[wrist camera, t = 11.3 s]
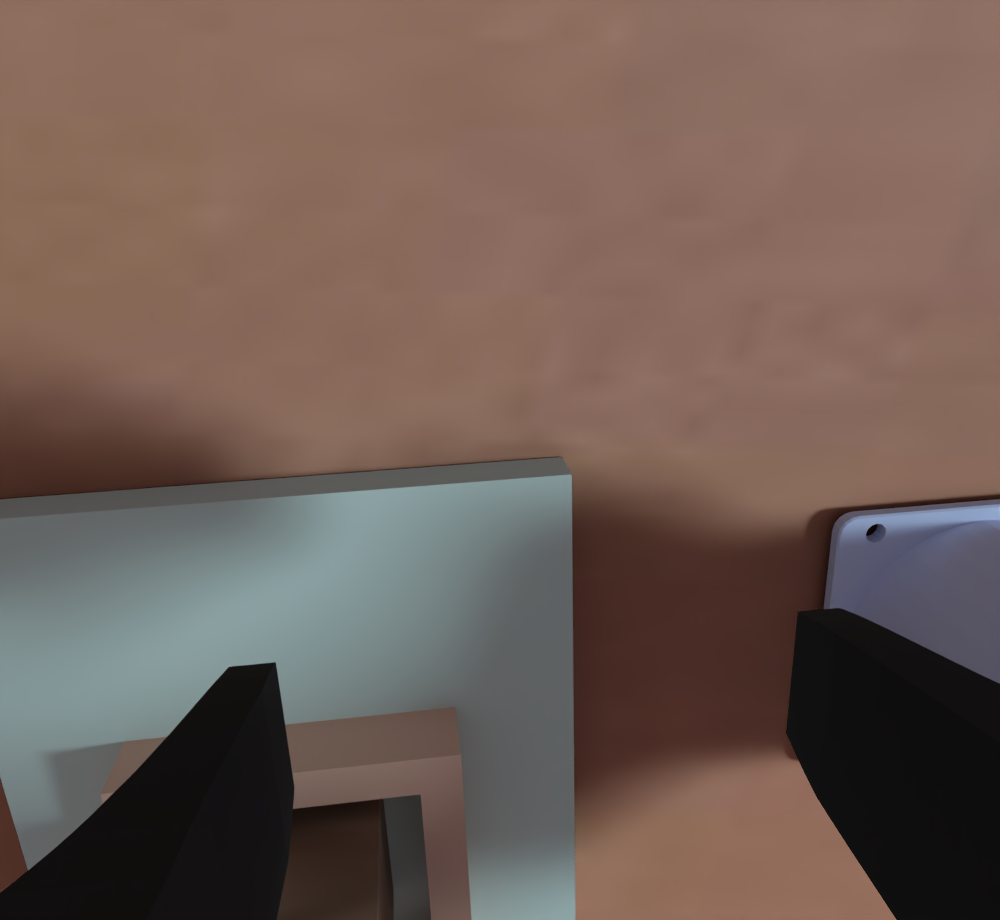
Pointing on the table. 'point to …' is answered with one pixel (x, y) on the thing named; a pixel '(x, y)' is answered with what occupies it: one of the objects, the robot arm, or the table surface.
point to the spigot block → (338, 864)
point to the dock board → (315, 658)
